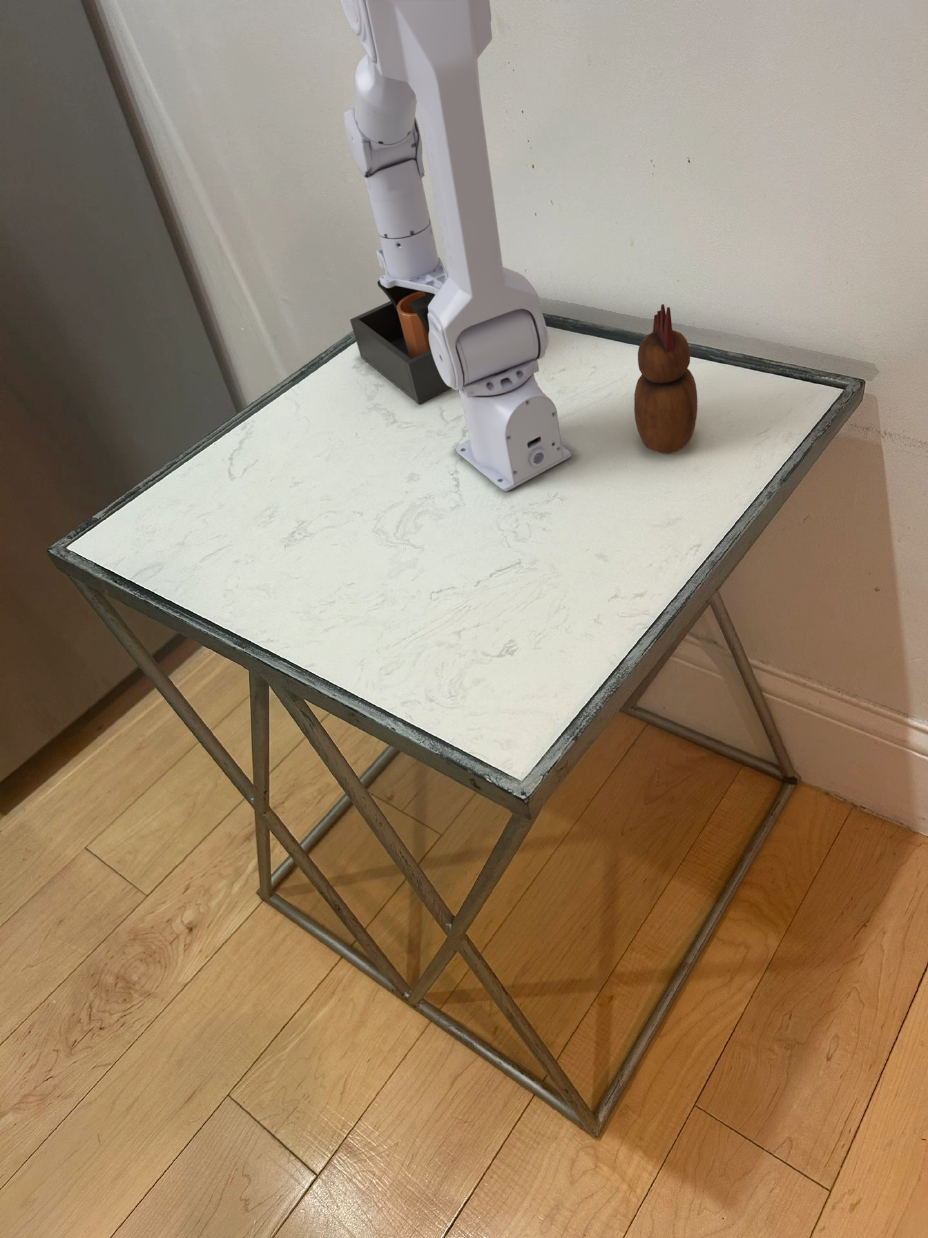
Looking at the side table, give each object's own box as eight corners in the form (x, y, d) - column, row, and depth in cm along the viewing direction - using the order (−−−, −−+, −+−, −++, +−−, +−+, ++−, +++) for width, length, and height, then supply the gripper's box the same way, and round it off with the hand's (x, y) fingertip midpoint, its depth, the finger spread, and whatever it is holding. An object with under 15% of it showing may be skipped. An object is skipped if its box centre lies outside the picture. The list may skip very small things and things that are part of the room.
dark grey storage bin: (513, 357, 107) (506, 316, 104) (419, 404, 104) (408, 364, 101) (448, 315, 117) (440, 277, 113) (360, 357, 114) (349, 319, 110)
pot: (465, 352, 109) (454, 300, 104) (424, 372, 108) (411, 320, 103) (441, 335, 113) (430, 284, 108) (401, 354, 111) (388, 304, 107)
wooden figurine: (696, 461, 88) (694, 315, 78) (634, 463, 90) (624, 320, 79) (698, 419, 93) (697, 275, 82) (639, 421, 94) (630, 281, 84)
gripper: (342, 222, 103) (373, 334, 113) (404, 260, 94) (432, 379, 103) (397, 199, 105) (423, 310, 115) (463, 233, 95) (486, 352, 105)
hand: (431, 341), depth 109 cm, fingers closed on pot, 6 cm apart
